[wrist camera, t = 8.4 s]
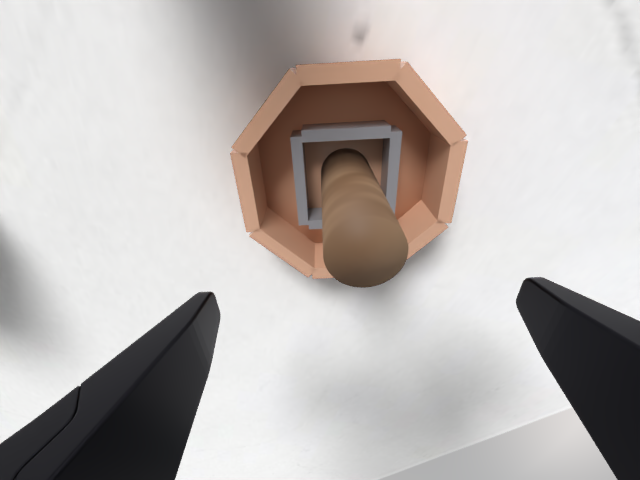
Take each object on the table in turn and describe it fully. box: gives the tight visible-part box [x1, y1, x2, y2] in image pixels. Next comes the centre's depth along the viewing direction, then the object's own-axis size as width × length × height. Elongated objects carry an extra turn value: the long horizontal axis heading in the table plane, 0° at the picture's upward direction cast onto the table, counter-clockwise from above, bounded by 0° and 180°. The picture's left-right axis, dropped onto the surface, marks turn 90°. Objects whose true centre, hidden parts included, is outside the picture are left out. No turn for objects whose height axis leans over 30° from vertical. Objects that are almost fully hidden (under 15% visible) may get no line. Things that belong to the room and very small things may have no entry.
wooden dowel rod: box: [321, 148, 408, 287], centre depth 14 cm, size 3×3×9 cm
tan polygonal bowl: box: [230, 59, 468, 279], centre depth 17 cm, size 12×12×4 cm
